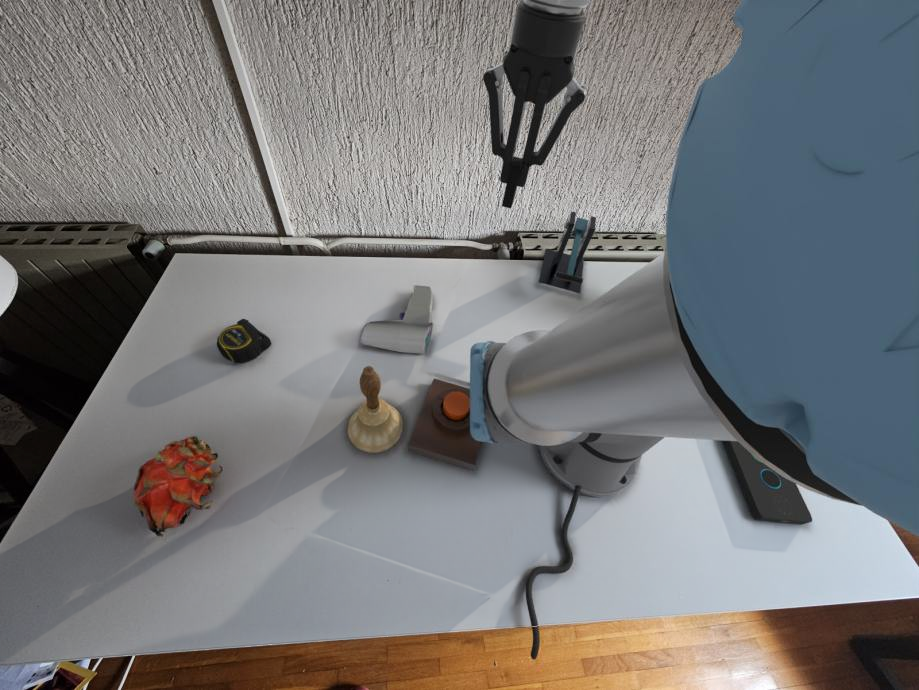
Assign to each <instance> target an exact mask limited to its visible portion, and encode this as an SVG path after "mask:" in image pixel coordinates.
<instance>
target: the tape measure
mask: <svg viewBox="0 0 919 690" xmlns="http://www.w3.org/2000/svg"><path fill="white" fill-rule="evenodd" d="M271 346H272V340H271V338H270V337H269V336H268V335H266V334H265V333H263V332H262V331H260V330H259V329H258V328H256V326H254V324H252V323H251V322H250V321H249V319H246V318H241V319H239V320H238V321H237V322H236V324H232V325H230V326H227V327H225V328H224V329H223V330H222V331H221V332H220V333H219V335H218V336H217V339H216V347H217V350H218V351H219V353H220V355H221V356H222V358H224V359H225V360H227V361H229V362H233V363H235V364H244V363H245V364H246V363H249V362H251V361H254V360H256V359H257V358H258V357H259V356H261V355H262V353H264V352H265V351H266V350H268V349H270V347H271Z"/></svg>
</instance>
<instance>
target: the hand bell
mask: <svg viewBox="0 0 919 690" xmlns="http://www.w3.org/2000/svg"><path fill="white" fill-rule="evenodd" d="M381 384H382V382H381V377H380V375H379V374H378V373H377V371H376V370H375V369H374V367H373V366H371V365H367V366H365V367H364V368H363V369H362V373H361V374H360V378H359V388H360V391H361V394H362V395H363V396H364V397H365V398H366V399H365V400H364V401H362V403H361V404H360V405H359V407H358V409H357V410H355V411H354V412H353V413H352V415H351V417H350V419H349V421H348V424H347V435H348V439H349V441H350V442H351V444H352V445H353V447H355V448H356V449H358V450H360V451H362V452H365V453H369V454H377V453H382V452H385V451H388V450H390V449H391V448H392V447H393V446H395V445H396V444H397V443H398V442H399V441H400V438H401V437H402V435H403V434H402V433H403V431H404V420H403V416H402V415H401V413H400V412H399V411H398V410H397V409H396V408H395V407H394V406H393V405H390V404H389V403H387V401H385V400H384V399H382V398H380V397H379V394H380V392H381V388H382V385H381Z"/></svg>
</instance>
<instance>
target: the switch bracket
mask: <svg viewBox="0 0 919 690" xmlns="http://www.w3.org/2000/svg"><path fill="white" fill-rule="evenodd" d="M576 218H577V212H576V211H571V212H570V214H569V216H568V219H567V220H565V222H564V225H563V229H564V230H563V232H562V235H561V237H560V240H559V243H558V245H557V248H556V250H553V249H549V248H545V252H544V257H543V262H542V265H541V270H540V275H539V279H538V283H540V284H544V285H548V286H552V287H554V288H559V289H563V290H567V291H570V292H574V293H577V294H581V293H582V285H583V283H582V284H577V283H574V282H570V281H566V280H562V279H558V278H555V275H556V272H557V271H558V272H561V273H565V274H566V273H567V269H568V264H569V260H570V255H571V254H568V253H564V252H565V250H566V248H567V246H568V245H567V244H568V243H569V239H570V237H571V235H572V231H573V227H574V224H575V222H576ZM596 223H597V217H596V216H593V215H592V216H590V218H589V219H588V224H587V229H586V232H585V234H584V236H583V238H581V240H580V245H579V249H578V254H577V259H576V264H575V268H574V273H573V276H577V277H581V278H583V275H584V265H585V258H584V255H585V253H586V251H587V249H588V246H589V244H590V242H591V240H592V237H593V236H594V235H595V234H596V231H597V228H596Z"/></svg>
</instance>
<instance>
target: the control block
mask: <svg viewBox="0 0 919 690" xmlns="http://www.w3.org/2000/svg"><path fill="white" fill-rule="evenodd" d="M451 392H461V393H464V394H465V395H466V396H467V397H468V398H469V400H470V387H469V388H468V387H466V386H465V387H464V386H461V385H458V384H455V383H451V382H449V381H444V380H441V379H438V378H433V380H432V382H431V384H430V388H429V390H428V393H427V395H426V398H425V400H424V404H423V406H422V407H421V410H420V413H419V416H418V418H417V421H416V424H415V427H414V429H413V432H412V434H411V437H410V439H409V443H408V451H409V452H411V453H415V454H418V455H421V456H425V457H427V458H432V459H434V460H437V461H440V462H443V463H447V464H451V465H454V466H457V467H461V468H464V469H466V470H470V471H474V470H475V467H476V464H477V461H478V457H479V453H480V448H481V445H482V441H477V440H475V439H474V438H473V437H472V436H471V433H470V409H469V413H468V415H467V416H466V417H465V418H464V419H462V420H459V421H454V420H451V419H449V418H447V417H446V416H445V414H444V412H443V402H444V398H445V397H446V395H448V394H449V393H451Z"/></svg>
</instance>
